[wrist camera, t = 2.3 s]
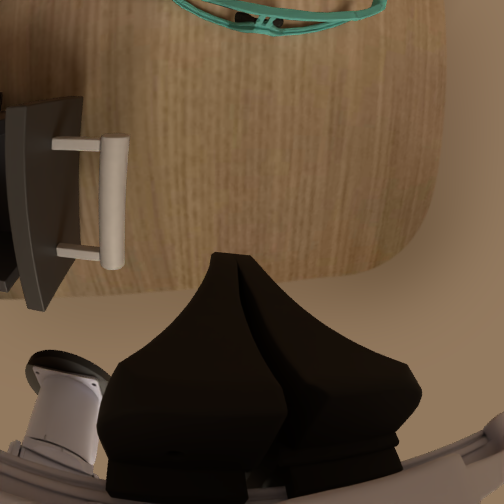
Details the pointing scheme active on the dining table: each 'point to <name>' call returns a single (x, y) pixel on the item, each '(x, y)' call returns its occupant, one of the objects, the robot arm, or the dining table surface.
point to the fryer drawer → (54, 196)
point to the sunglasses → (279, 17)
